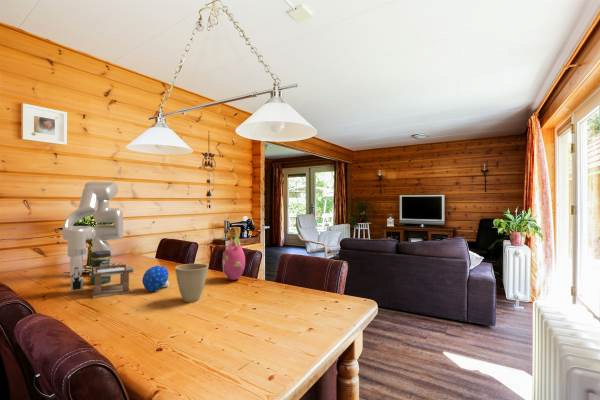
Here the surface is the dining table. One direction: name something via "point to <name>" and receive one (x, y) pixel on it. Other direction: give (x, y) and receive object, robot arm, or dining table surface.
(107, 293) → the frame
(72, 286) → the light grey cube
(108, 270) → the trapdoor
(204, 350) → the dining table surface
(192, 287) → the plant pot
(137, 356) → the dining table surface
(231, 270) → the pink dragon fruit
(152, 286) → the blue green-spotted dome
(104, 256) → the coffee jar
